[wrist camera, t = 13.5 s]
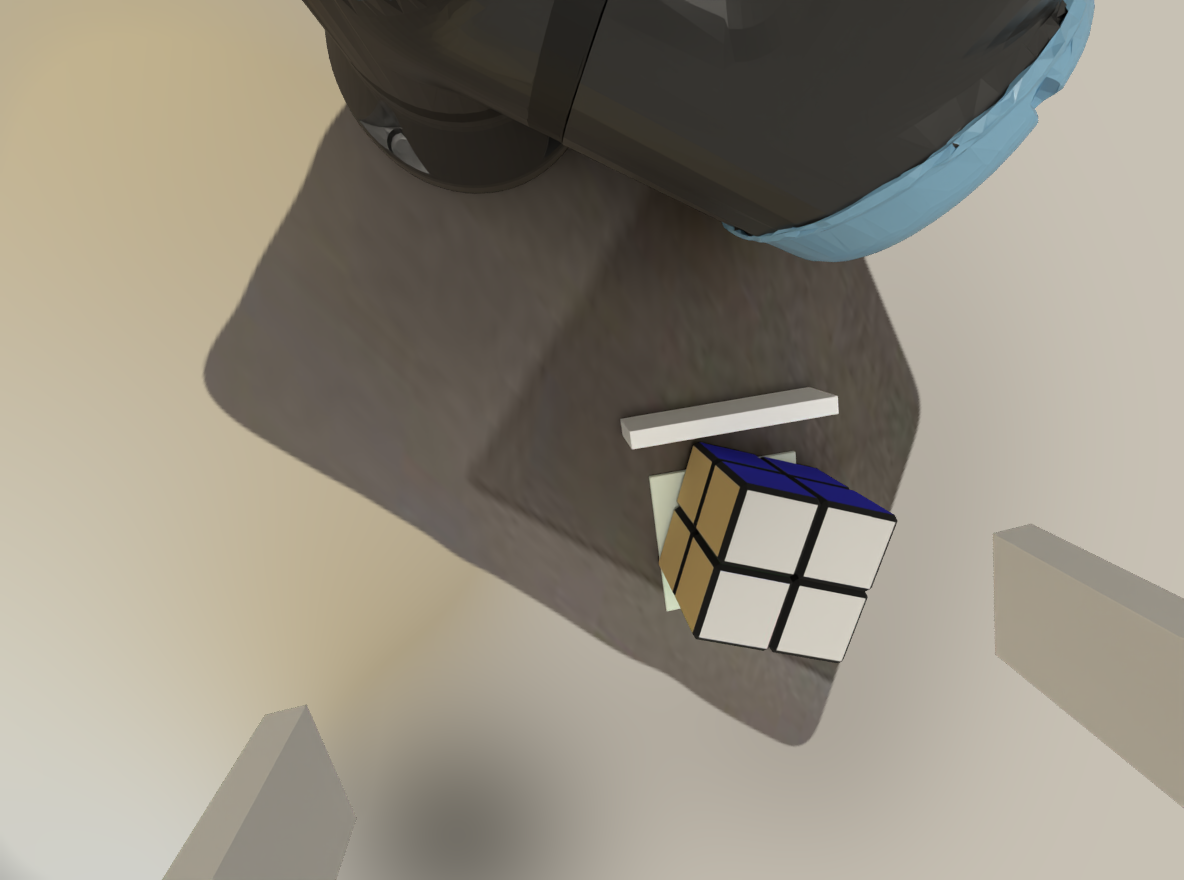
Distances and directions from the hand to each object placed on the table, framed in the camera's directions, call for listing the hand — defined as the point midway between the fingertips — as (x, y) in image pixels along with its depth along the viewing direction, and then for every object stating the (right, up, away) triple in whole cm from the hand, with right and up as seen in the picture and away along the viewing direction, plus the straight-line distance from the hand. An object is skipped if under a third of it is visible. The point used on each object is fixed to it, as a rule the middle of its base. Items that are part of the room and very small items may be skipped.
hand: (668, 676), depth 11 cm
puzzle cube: (+9, -1, +32) cm, 34 cm away
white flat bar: (+8, +7, +30) cm, 32 cm away
